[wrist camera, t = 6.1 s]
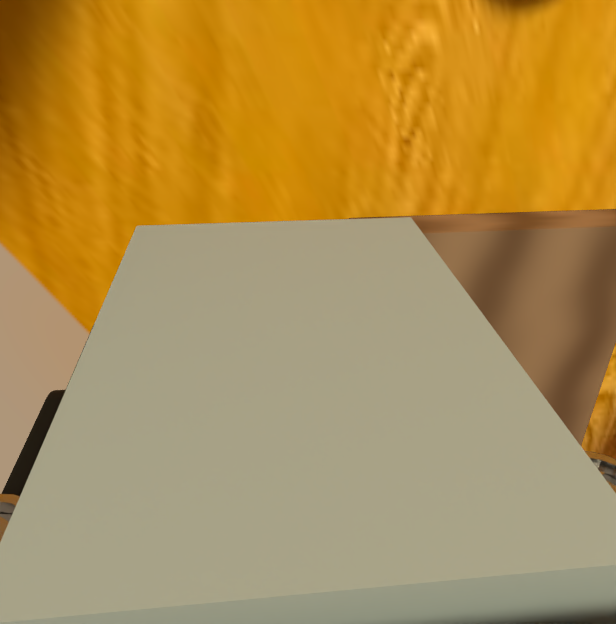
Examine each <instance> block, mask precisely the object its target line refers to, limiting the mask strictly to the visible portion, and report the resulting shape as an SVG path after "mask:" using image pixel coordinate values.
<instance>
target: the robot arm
mask: <svg viewBox="0 0 616 624" xmlns="http://www.w3.org/2000/svg"><path fill="white" fill-rule="evenodd" d="M93 326H94V325H93ZM92 329H93V328H92ZM91 331H92V330H91ZM90 333H91V332H90ZM88 338H89V337H88ZM87 340H88V339H87ZM85 345H86V344H85ZM84 347H85V346H84ZM82 352H83V351H82ZM81 354H82V353H81ZM80 356H81V355H80ZM79 359H80V358H79ZM78 361H79V360H78ZM76 366H77V365H76ZM75 368H76V367H75ZM73 373H74V372H73ZM72 375H73V374H72ZM70 380H71V379H70ZM69 382H70V381H69ZM68 384H69V383H68ZM66 389H67V388H66ZM65 391H66V390H55V391H52V392H50V394H49V395H48V397H47V398H46V400H45V402H44V404H43V407H42V409H41V411H40V413H39V415H38V417H37V419H36V421H35V424H34V426H33V428H32V430H31V432H30V434H29V437H28V438H27V441H26V443H25V445H24V447H23V449H22V451H21V454H20V455H19V458H18V460H17V462H16V464H15V466H14V468H13V471H12V473H11V475H10V477H9V479H8V481H7V483H6V486H5V488H4V490H3V492H2V494H0V542H1V539H2V537H3V535H4V532H5V530H6V528H7V525H8V523H9V521H10V519H11V516H12V514H13V512H14V509H15V507H16V505H17V502H18V500H19V498H20V495H21V493H22V491H23V488H24V486H25V484H26V481H27V479H28V477H29V475H30V472H31V470H32V468H33V465H34V463H35V461H36V458H37V456H38V454H39V451H40V449H41V447H42V444H43V442H44V440H45V437H46V435H47V433H48V430H49V428H50V426H51V424H52V421H53V419H54V417H55V414H56V412H57V410H58V407H59V405H60V403H61V400H62V398H63V396H64V393H65ZM585 453H586V454H587V455H588V457H589V458H590V459H591V461H592V462H593V463H594V465H595V466H596V467H597V469H598V470H599V471H600V473H601V474H602V475H603V477H604V478H605V480H606V481H607V482H608V484H609V485H610V486H611V488H612V489H613V490H614V492H615V493H616V459H614V458H612V457H609V456H607V455H603V454H599V453H595V452H586V451H585Z"/></svg>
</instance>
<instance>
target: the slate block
mask: <svg viewBox="0 0 616 624" xmlns="http://www.w3.org/2000/svg"><path fill="white" fill-rule="evenodd" d="M0 624H616V493H615V492H614V490H613V489H612V488H611V486H610V485H609V484H608V482H607V481H606V480H605V478H604V477H603V475H602V474H601V473H600V471H599V470H598V469H597V467H596V466H595V465H594V463H593V462H592V461H591V459H590V458H589V457H588V455H587V454H586V453H585V451H584V450H583V449H582V447H581V446H580V444H579V443H578V442H577V440H576V439H575V438H574V436H573V435H572V434H571V432H570V431H569V430H568V428H567V427H566V426H565V424H564V423H563V422H562V420H561V419H560V418H559V416H558V415H557V413H556V412H555V411H554V409H553V408H552V407H551V405H550V404H549V403H548V401H547V400H546V399H545V397H544V396H543V395H542V393H541V392H540V391H539V389H538V388H537V386H536V385H535V384H534V382H533V381H532V380H531V378H530V377H529V376H528V374H527V373H526V372H525V370H524V369H523V368H522V366H521V365H520V364H519V362H518V361H517V360H516V358H515V357H514V355H513V354H512V353H511V351H510V350H509V349H508V347H507V346H506V345H505V343H504V342H503V341H502V339H501V338H500V337H499V335H498V334H497V333H496V331H495V330H494V329H493V327H492V326H491V324H490V323H489V322H488V320H487V319H486V318H485V316H484V315H483V314H482V312H481V311H480V310H479V308H478V307H477V306H476V304H475V303H474V302H473V300H472V299H471V297H470V296H469V295H468V293H467V292H466V291H465V289H464V288H463V287H462V285H461V284H460V283H459V281H458V280H457V279H456V277H455V276H454V275H453V273H452V272H451V271H450V269H449V268H448V266H447V265H446V264H445V262H444V261H443V260H442V258H441V257H440V256H439V254H438V253H437V252H436V250H435V249H434V248H433V246H432V245H431V244H430V242H429V241H428V240H427V238H426V237H425V235H424V234H423V233H422V231H421V230H420V229H419V227H418V226H417V225H416V223H415V222H414V221H413V219H412V218H411V217H404V218H372V219H340V220H309V221H277V222H245V223H213V224H182V225H150V226H137V227H136V229H135V231H134V234H133V236H132V238H131V240H130V243H129V245H128V247H127V250H126V252H125V254H124V257H123V259H122V261H121V264H120V266H119V268H118V271H117V273H116V275H115V278H114V280H113V282H112V285H111V287H110V289H109V291H108V294H107V296H106V298H105V301H104V303H103V305H102V308H101V310H100V312H99V315H98V317H97V319H96V322H95V324H94V326H93V329H92V331H91V333H90V335H89V338H88V340H87V342H86V345H85V347H84V349H83V352H82V354H81V356H80V359H79V361H78V363H77V366H76V368H75V370H74V373H73V375H72V377H71V380H70V382H69V384H68V386H67V389H66V391H65V393H64V396H63V398H62V400H61V403H60V405H59V407H58V410H57V412H56V414H55V417H54V419H53V421H52V424H51V426H50V428H49V430H48V433H47V435H46V437H45V440H44V442H43V444H42V447H41V449H40V451H39V454H38V456H37V458H36V461H35V463H34V465H33V468H32V470H31V472H30V475H29V477H28V479H27V481H26V484H25V486H24V488H23V491H22V493H21V495H20V498H19V500H18V502H17V505H16V507H15V509H14V512H13V514H12V516H11V519H10V521H9V523H8V525H7V528H6V530H5V532H4V535H3V537H2V539H1V542H0Z"/></svg>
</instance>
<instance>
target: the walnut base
mask: <svg viewBox="0 0 616 624" xmlns="http://www.w3.org/2000/svg"><path fill="white" fill-rule="evenodd" d="M404 217H411V218H412V219H413V221H414V222H415V223H416V225H417V226H418V227H419V229H420V230H421V231H422V233H423V234H424V235H425V237H426V238H427V240H428V241H429V242H430V244H431V245H432V246H433V248H434V249H435V250H436V252H437V253H438V254H439V256H440V257H441V258H442V260H443V261H444V262H445V264H446V265H447V266H448V268H449V269H450V271H451V272H452V273H453V275H454V276H455V277H456V279H457V280H458V281H459V283H460V284H461V285H462V287H463V288H464V289H465V291H466V292H467V293H468V295H469V296H470V297H471V299H472V300H473V302H474V303H475V304H476V306H477V307H478V308H479V310H480V311H481V312H482V314H483V315H484V316H485V318H486V319H487V320H488V322H489V323H490V324H491V326H492V327H493V329H494V330H495V331H496V333H497V334H498V335H499V337H500V338H501V339H502V341H503V342H504V343H505V345H506V346H507V347H508V349H509V350H510V351H511V353H512V354H513V355H514V357H515V358H516V360H517V361H518V362H519V364H520V365H521V366H522V368H523V369H524V370H525V372H526V373H527V374H528V376H529V377H530V378H531V380H532V381H533V382H534V384H535V385H536V386H537V388H538V389H539V391H540V392H541V393H542V395H543V396H544V397H545V399H546V400H547V401H548V403H549V404H550V405H551V407H552V408H553V409H554V411H555V412H556V413H557V415H558V416H559V418H560V419H561V420H562V422H563V423H564V424H565V426H566V427H567V428H568V430H569V431H570V432H571V434H572V435H573V436H574V438H575V439H576V440H577V442H578V443H579V444H580V446H581V444H582V441H583V438H584V435H585V432H586V429H587V426H588V423H589V420H590V417H591V414H592V411H593V408H594V405H595V402H596V399H597V396H598V393H599V390H600V388H601V385H602V382H603V379H604V376H605V373H606V370H607V367H608V364H609V361H610V358H611V355H612V352H613V349H614V346H615V343H616V209H607V210H577V211H547V212H518V213H488V214H458V215H428V216H398V217H368V218H349V219H372V218H404Z"/></svg>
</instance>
